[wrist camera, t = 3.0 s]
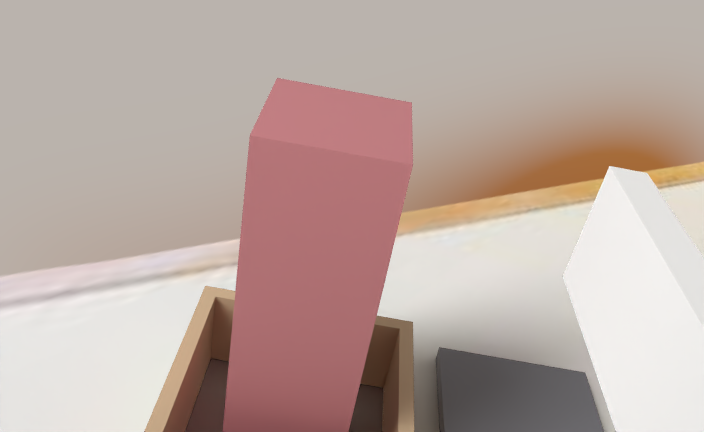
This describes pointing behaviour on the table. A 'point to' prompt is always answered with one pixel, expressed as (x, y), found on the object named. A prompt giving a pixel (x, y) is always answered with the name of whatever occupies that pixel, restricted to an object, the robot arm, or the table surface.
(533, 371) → the rubber mat
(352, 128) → the pink rectangular block
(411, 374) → the hollow rectangular frame
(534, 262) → the table surface
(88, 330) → the table surface
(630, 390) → the robot arm
